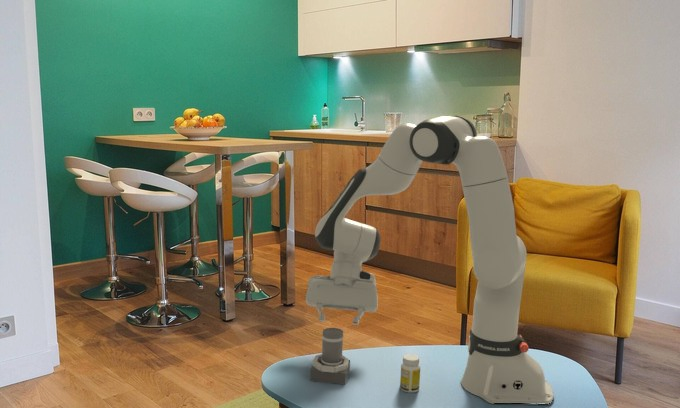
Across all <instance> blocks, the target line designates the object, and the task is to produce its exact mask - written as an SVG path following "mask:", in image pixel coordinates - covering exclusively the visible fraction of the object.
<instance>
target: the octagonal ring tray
mask: <svg viewBox="0 0 680 408" xmlns="http://www.w3.org/2000/svg"><path fill="white" fill-rule="evenodd" d="M321 359H322V353H321V354H316V355H315V356H314V358H313V360H312V364H311V367H310V369H309V370H310V371H309V373H310V375H309V381H310V382H322V383H328V384H330V383H331V384H338V385H346V383H347V380H348V377H349V374H350V370H351V369H350V368H351V360H350V359H349V358H347V357H346V356H345V355H343V354H342V364H341V365H337V366H326V365H322V362H321Z"/></svg>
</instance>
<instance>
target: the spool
mask: <svg viewBox="0 0 680 408" xmlns="http://www.w3.org/2000/svg"><path fill="white" fill-rule="evenodd" d="M321 339H322V340H321V342H322V343H321V345H322V346H321V348H322V349H321V354H322V359H321V362H322V365H326V366H337V365H341V364H342V355H343V345H344V344H343V343H344V330H342V329H341V328H338V327H327V328H324V329H323V330H322V334H321Z"/></svg>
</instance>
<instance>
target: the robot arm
mask: <svg viewBox="0 0 680 408" xmlns="http://www.w3.org/2000/svg"><path fill="white" fill-rule="evenodd" d="M423 162H425V163H429V164H437V165H445V166H448V165H451V164H453V165H454V166H455V167H456V168H457V170H458V173H459V177H460V181H461V188H462V192H463V196H464V201H465V207H466V212H467V216H468V217H467V218H468V224H469V225H468V226H469V227H468V228H469V238H470V239H469V240H470V249H471V256H472V257H471V258H472V265H473V273H474V277H475V278H476V279H477V285H476V290H475V291H476V292H475V296H474V301H473V311H472V323H471V329H470V331H469V335H468V344H467V346H468V347H467V351H468V357H467V361H466V366H465V369H464V373H463V375H462V377H461V380H460V384H461V386H462V387H463V388H464V390H466V391H467V392H469V393H470V394H473V395H475V396H477V397H479V398H481V399H483V400H484V401H486V402H487V403H489V404H492V405H493V404H494V403H545V404H548V403H550V402H552V403H553V401H554V390H553V388H552V386H551V385H550V383H549V381H547V380H546V379H545V374H544V370H543V368H542V366H541V365H540V362H538V361H537V360H536V359H534V358H533V357H532V356H531V355H530V354H529V353H528V352H529V345H528V343H527V342H526V340H525V338H523V335H521V334H518V329H519V319H520V318H519V317H520V306H521V302H522V294H523V285H524V279H525V273H526V265H527V256H528V253H527V248H526V244H525V243H524V241H523V240H522V238H521V237H520V236H518V235H517V227H516V226H517V225H516V217H515V206H514V201H513V196H512V192H511V188H510V183H509V177H508V171H507V169H506V168H507V167H506V165H505V162H504V159H503V155H502V152H501V150H500V148H499V146H498V143H497V142H496V141H495V139H493V138H492V137H489V136H485V135H484V136H483V135H477V130H476V127H475V125H474V124H473V122H471V120H469V119H467V118H466V117H463V116H461V115H460V116H459V115H450V116H448V115H447V116H446V115H441V116H435V117H432V118H428V119H425V120H423V121H421V122H419V123H417V124H414V123H410V122H407V123H406V122H405V123H401V124H398V125H397V126H396V127H395V128H394V130H393V131H392V132H391V134H390V135H389V137H388V138H387V140H386V142H385V143H384V145H383V146H382V148H381V151H380V152H379V154H378V156H377V158H376V159H375V160H374V161H373V162H372V163H371V164H369V166H367V167H364V168H359V170H357V171H356V172H355V173H354V174H353V176H352V177H351V178H350V180H349V181H348V182H347V183H346V185H345V186H344V187H343V189H342V191H341V192H340V193H339V195H338V196H337V198H336V199H335V200H334V201H333V203H332V205H331V206H330V207H329V209H328V210H327V211H326V212H325V213H324V214H323V215H322V217H321V218H320V219H319V220H318V223H317V224H316V227H315V229H314V230H315V231H314V239H315V240H316V242H317V244H318V246H320V248H322V249H325V250H330V251H333V262H332V264H331V268H330V274H329V275H318V274H317V275H316V274H315V275H314V276H311V277H310V278H309V279H308V281H307V291H306V294H305V302H306V305H307V306H308V307H312V308H313V307H314V308H316V310H317V313H318V322H323V323H325V322H326V321H325V319H326V314H325V313H322V311H323V310H324V309H325V308H326V309H334V310H335V309H336V310H344V311H345V310H346V311H356V312H358V314H357V315H356V316H353V317H352V319H353V320H352V325H353V326H354V325H355V326H359V322H360V320H361V319H362V317H364V315H365V312H367V313H375V312H376V311H377V310H378V303H379V301H378V290H377V289H378V288H377V281H376V276H375V275H374V273H370V272H368V271H365V270H363V269H362V264H363V263H366V262H368V261H370V260H372V259H373V258H375V257H376V256H377V255H378V253H379V250H380V245H381V235H380V232H379V230H378V229H377V228H376V227H374V226H372V225H370V224H366V223H363V222H360V221H359V222H358V221H356V220H352V219H349V218H347V217H346V216H347V214H348V212H349V211H350V210H351V208H352V207H353V206H354V204H355V203H356V202H357V201H358V200H359V199H361V198H363V197H368V196H391V195H397V194H400V193H402V192H404V191H405V190H407V189H408V188H409V187H410V185H411V184H412V183H413V181H414V179H415V177H416V176H417V174H418V172H419V170H420V167H421V166H422V164H423ZM552 400H553V401H552ZM550 404H551V403H550ZM494 405H495V404H494ZM548 405H549V404H548Z"/></svg>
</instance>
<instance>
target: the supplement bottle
mask: <svg viewBox="0 0 680 408" xmlns="http://www.w3.org/2000/svg"><path fill="white" fill-rule="evenodd" d="M402 357H403V358H402V363H401V365H400V378H399V379H400V380H399V381H400V382H399V384H400V385H399V389H400V390H401V391H402V392H405V393H408V394H409V393H411V394H412V393H417V392H418V391H419V390H420V377H421V364H420V356H419V355H417V354H414V353H406V354H404V355H403V356H402Z"/></svg>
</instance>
